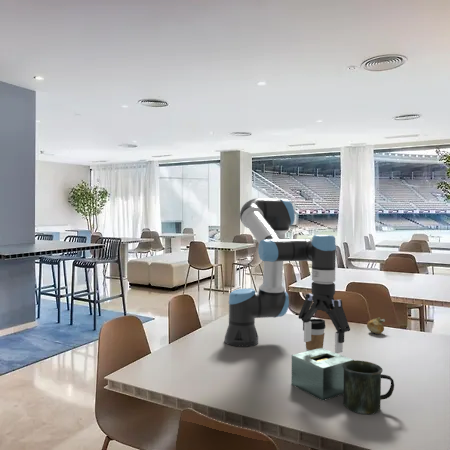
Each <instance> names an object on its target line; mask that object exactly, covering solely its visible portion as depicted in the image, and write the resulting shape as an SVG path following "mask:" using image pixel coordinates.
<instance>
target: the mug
mask: <svg viewBox="0 0 450 450" xmlns="http://www.w3.org/2000/svg"><path fill="white" fill-rule="evenodd" d="M342 367H343V368H344V393H343V394H342V395H343V401H342V402H343V405H344V407H345V408H346V409H347V410H348V411H350V412H353V413H358V414H361V415H373V413H374V414H377V413H379V412H380V410H381V401H382V400H387V399H389V398H390V397H391V396H392V395H393V392H394V389H395V383H394V382H395V381H394V379H393V378H392V377H391V376H390V375H387V374H382V373H383V368H382V366H380V365H378V364H377V363H374V362H370V361H366V360H356V359H355V360H354V359H353V361H347V362H345V363H343V365H342ZM382 379H386V380H389V381H390V387H389V389H388V391H387V392H385V394H382V393H381V390H382V382H381V381H382Z"/></svg>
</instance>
